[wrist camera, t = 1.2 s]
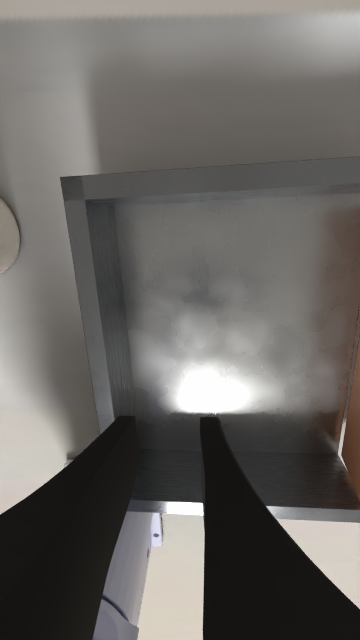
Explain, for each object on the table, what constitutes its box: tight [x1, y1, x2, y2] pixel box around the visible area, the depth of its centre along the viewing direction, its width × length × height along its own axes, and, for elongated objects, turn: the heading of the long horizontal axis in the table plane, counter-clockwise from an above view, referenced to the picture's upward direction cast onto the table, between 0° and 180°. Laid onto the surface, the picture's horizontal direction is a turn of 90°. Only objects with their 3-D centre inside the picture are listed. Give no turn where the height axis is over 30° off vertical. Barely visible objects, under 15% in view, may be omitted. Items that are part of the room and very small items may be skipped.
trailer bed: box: [60, 157, 360, 523], centre depth 18 cm, size 20×16×6 cm
